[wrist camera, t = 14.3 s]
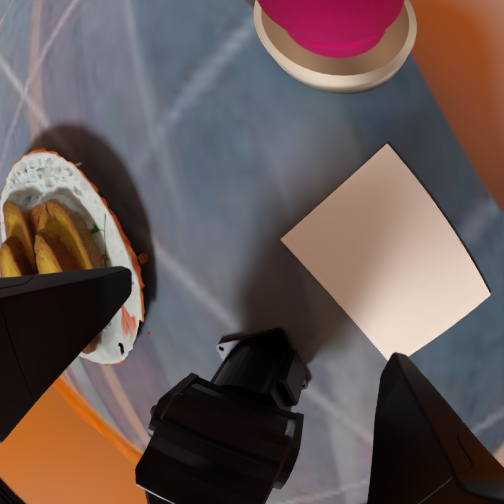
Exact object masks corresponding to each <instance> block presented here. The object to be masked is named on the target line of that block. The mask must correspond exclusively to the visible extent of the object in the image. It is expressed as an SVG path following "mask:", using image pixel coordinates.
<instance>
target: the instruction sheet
mask: <svg viewBox="0 0 504 504" xmlns="http://www.w3.org/2000/svg"><path fill="white" fill-rule="evenodd" d="M280 240H281V241H282V242H283V243H284V244H285V245H286V246H287V247H288V249H289V250H290V251H291V252H292V253H293V254H294V255H295V256H296V257H297V258H298V259H299V261H300V262H301V263H302V264H303V265H304V266H305V267H306V268H307V269H308V270H309V272H310V273H311V274H312V275H313V276H314V277H315V278H316V279H317V280H318V282H319V283H320V284H321V285H322V286H323V287H324V288H325V289H326V290H327V292H328V293H329V294H330V295H331V296H332V297H333V298H334V299H335V301H336V302H337V303H338V304H339V305H340V306H341V307H342V308H343V310H344V311H345V312H346V313H347V314H348V315H349V316H350V317H351V319H352V320H353V321H354V322H355V323H356V324H357V325H358V327H359V328H360V329H361V330H362V331H363V332H364V334H365V335H366V336H367V337H368V338H369V339H370V340H371V342H372V343H373V344H374V345H375V346H376V347H377V349H378V350H379V351H380V352H381V353H382V354H383V356H384V357H385V358H386V359H387V360H389V359H390V357H391V355H392V354H393V353H394V352H398V353H402V354H405V355H407V356H409V355H411V354H412V353H414V352H416V351H417V350H419V349H420V348H422V347H423V346H424V345H426V344H427V343H429V342H430V341H432V340H433V339H435V338H436V337H437V336H439V335H440V334H442V333H443V332H444V331H446V330H447V329H448V328H450V327H451V326H452V325H454V324H455V323H456V322H458V321H459V320H460V319H462V318H463V317H464V316H465V315H467V314H468V313H469V312H470V311H472V310H473V309H474V308H475V307H477V306H478V305H479V304H480V303H481V302H483V301H484V300H485V299H486V298H487V297H489V296H490V295H491V294H490V292H489V290H488V288H487V287H486V285H485V283H484V281H483V279H482V277H481V275H480V274H479V272H478V270H477V268H476V266H475V265H474V263H473V261H472V260H471V258H470V256H469V254H468V253H467V251H466V249H465V248H464V246H463V245H462V243H461V241H460V240H459V238H458V237H457V235H456V234H455V232H454V230H453V229H452V227H451V226H450V224H449V223H448V221H447V220H446V218H445V217H444V215H443V214H442V213H441V211H440V210H439V208H438V207H437V205H436V204H435V203H434V201H433V200H432V199H431V197H430V196H429V194H428V193H427V192H426V190H425V189H424V188H423V186H422V185H421V184H420V183H419V181H418V180H417V179H416V177H415V176H414V175H413V174H412V172H411V171H410V170H409V169H408V167H407V166H406V165H405V164H404V162H403V161H402V160H401V159H400V158H399V156H398V155H397V154H396V153H395V152H394V151H393V149H392V148H391V147H390V146H389V145H388V144H386V145H385V146H384V147H382V148H381V149H380V150H379V151H378V152H377V153H376V154H375V155H374V156H373V157H371V158H370V159H369V160H368V161H367V162H366V163H365V164H364V165H363V166H361V167H360V168H359V169H358V170H357V171H356V172H355V173H354V174H353V175H352V176H350V177H349V178H348V179H347V180H346V181H345V182H344V183H343V184H342V185H340V186H339V187H338V188H337V189H336V190H335V191H334V192H333V193H332V194H330V195H329V196H328V197H327V198H326V199H325V200H324V201H323V202H322V203H320V204H319V205H318V206H317V207H316V208H315V209H314V210H313V211H312V212H310V213H309V214H308V215H307V216H306V217H305V218H304V219H303V220H301V221H300V222H299V223H298V224H297V225H296V226H295V227H294V228H293V229H291V230H290V231H289V232H288V233H287V234H286V235H285V236H284V237H282V238H281V239H280Z"/></svg>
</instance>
